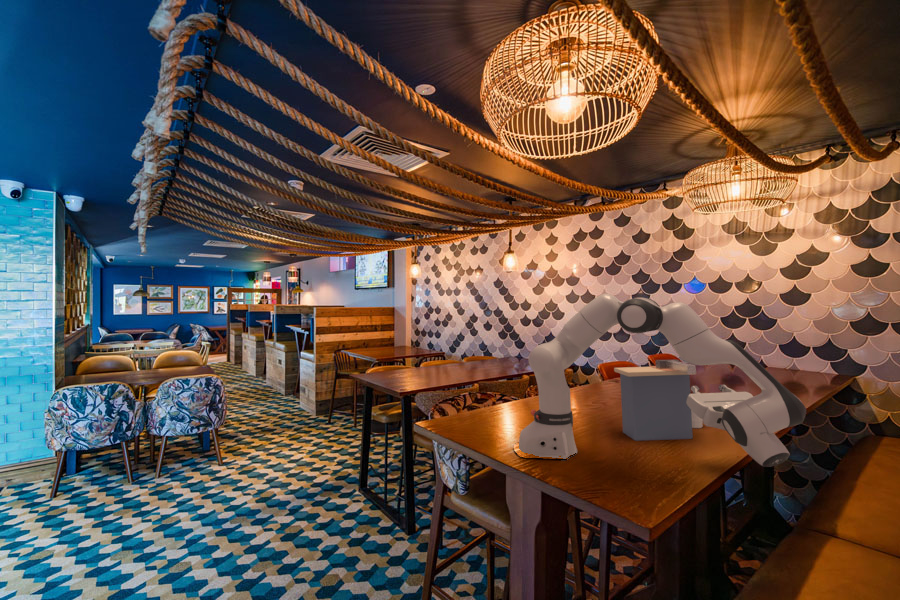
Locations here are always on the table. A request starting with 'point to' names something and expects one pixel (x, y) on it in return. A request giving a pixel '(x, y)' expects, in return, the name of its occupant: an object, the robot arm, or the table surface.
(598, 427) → the table surface
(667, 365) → the steel T-bar
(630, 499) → the table surface
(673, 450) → the table surface
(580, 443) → the table surface
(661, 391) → the wood-topped grey cube
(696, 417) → the white cup
